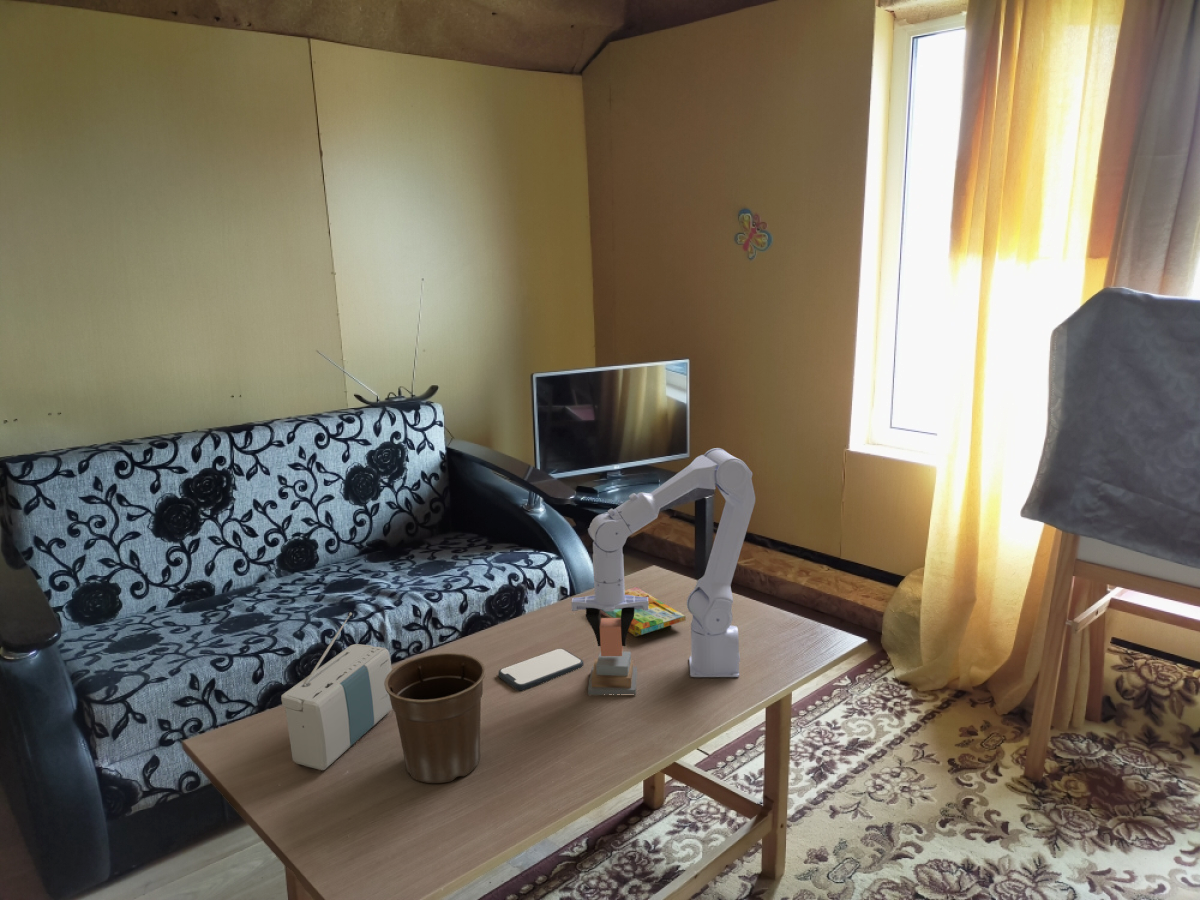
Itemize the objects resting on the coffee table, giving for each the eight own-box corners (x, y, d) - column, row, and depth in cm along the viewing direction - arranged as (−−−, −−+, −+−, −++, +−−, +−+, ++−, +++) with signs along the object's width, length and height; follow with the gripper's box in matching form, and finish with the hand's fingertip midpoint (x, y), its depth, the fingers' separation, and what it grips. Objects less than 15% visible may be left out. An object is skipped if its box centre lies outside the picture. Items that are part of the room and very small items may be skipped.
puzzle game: (635, 583, 201) (685, 612, 184) (635, 601, 202) (685, 631, 186) (592, 595, 195) (640, 625, 179) (593, 614, 196) (641, 646, 180)
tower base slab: (637, 675, 168) (636, 666, 168) (635, 699, 160) (635, 689, 159) (592, 675, 169) (591, 666, 169) (588, 699, 160) (587, 689, 160)
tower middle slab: (633, 668, 167) (632, 659, 167) (631, 687, 160) (630, 678, 160) (595, 668, 168) (595, 658, 168) (591, 687, 161) (591, 677, 160)
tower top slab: (630, 661, 166) (630, 651, 166) (627, 676, 160) (627, 666, 160) (600, 660, 167) (600, 650, 166) (596, 674, 161) (596, 665, 161)
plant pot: (408, 735, 149) (399, 652, 146) (498, 734, 149) (492, 650, 145) (382, 793, 134) (371, 701, 130) (483, 792, 133) (475, 699, 129)
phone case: (561, 653, 179) (496, 677, 169) (561, 646, 178) (495, 669, 169) (586, 668, 172) (519, 694, 162) (586, 661, 171) (519, 686, 162)
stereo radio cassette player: (326, 777, 139) (312, 666, 134) (286, 768, 141) (270, 659, 137) (398, 711, 158) (387, 612, 153) (361, 704, 160) (349, 607, 156)
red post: (622, 646, 164) (621, 617, 163) (621, 656, 160) (620, 627, 159) (602, 646, 165) (601, 618, 163) (601, 656, 161) (599, 627, 159)
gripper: (568, 586, 156) (572, 653, 159) (647, 585, 155) (649, 653, 158) (572, 572, 163) (575, 636, 166) (647, 571, 162) (649, 636, 165)
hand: (611, 643), depth 162 cm, fingers closed on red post, 4 cm apart
